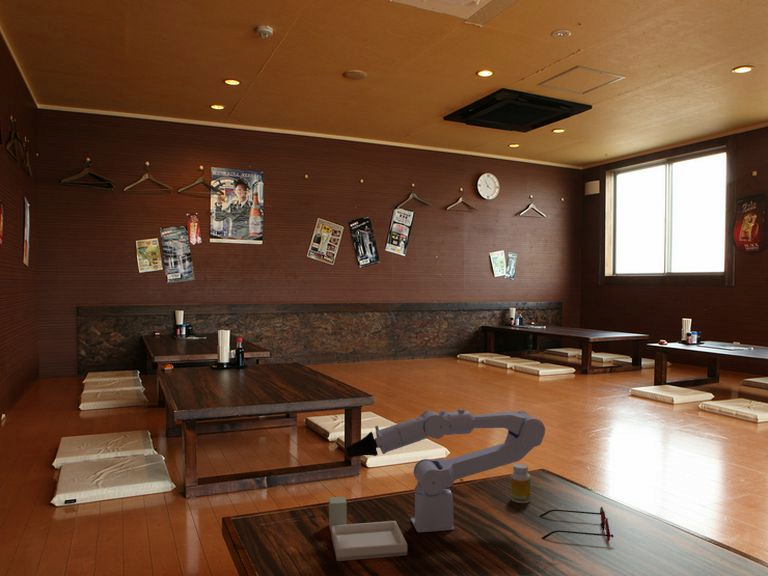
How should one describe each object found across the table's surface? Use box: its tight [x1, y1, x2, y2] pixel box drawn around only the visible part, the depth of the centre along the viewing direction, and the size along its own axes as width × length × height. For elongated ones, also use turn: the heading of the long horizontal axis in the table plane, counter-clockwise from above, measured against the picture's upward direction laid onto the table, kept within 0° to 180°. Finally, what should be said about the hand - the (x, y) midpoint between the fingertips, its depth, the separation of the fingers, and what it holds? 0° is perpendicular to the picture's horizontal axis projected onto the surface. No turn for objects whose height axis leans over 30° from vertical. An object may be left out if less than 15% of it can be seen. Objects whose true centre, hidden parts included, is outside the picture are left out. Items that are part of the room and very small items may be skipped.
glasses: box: [538, 506, 614, 542], centre depth 145 cm, size 14×16×5 cm
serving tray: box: [330, 520, 408, 562], centre depth 136 cm, size 16×13×2 cm
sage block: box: [328, 496, 348, 533], centre depth 146 cm, size 4×4×7 cm
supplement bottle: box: [510, 463, 531, 504], centre depth 164 cm, size 5×5×10 cm
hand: (347, 453), depth 144 cm, fingers open, 7 cm apart
